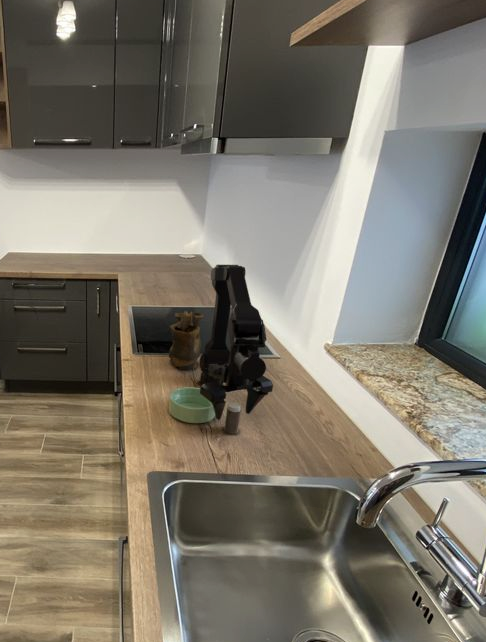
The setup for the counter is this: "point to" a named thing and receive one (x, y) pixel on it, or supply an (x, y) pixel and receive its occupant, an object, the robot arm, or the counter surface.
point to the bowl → (190, 405)
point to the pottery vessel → (186, 340)
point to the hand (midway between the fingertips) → (232, 416)
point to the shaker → (232, 418)
